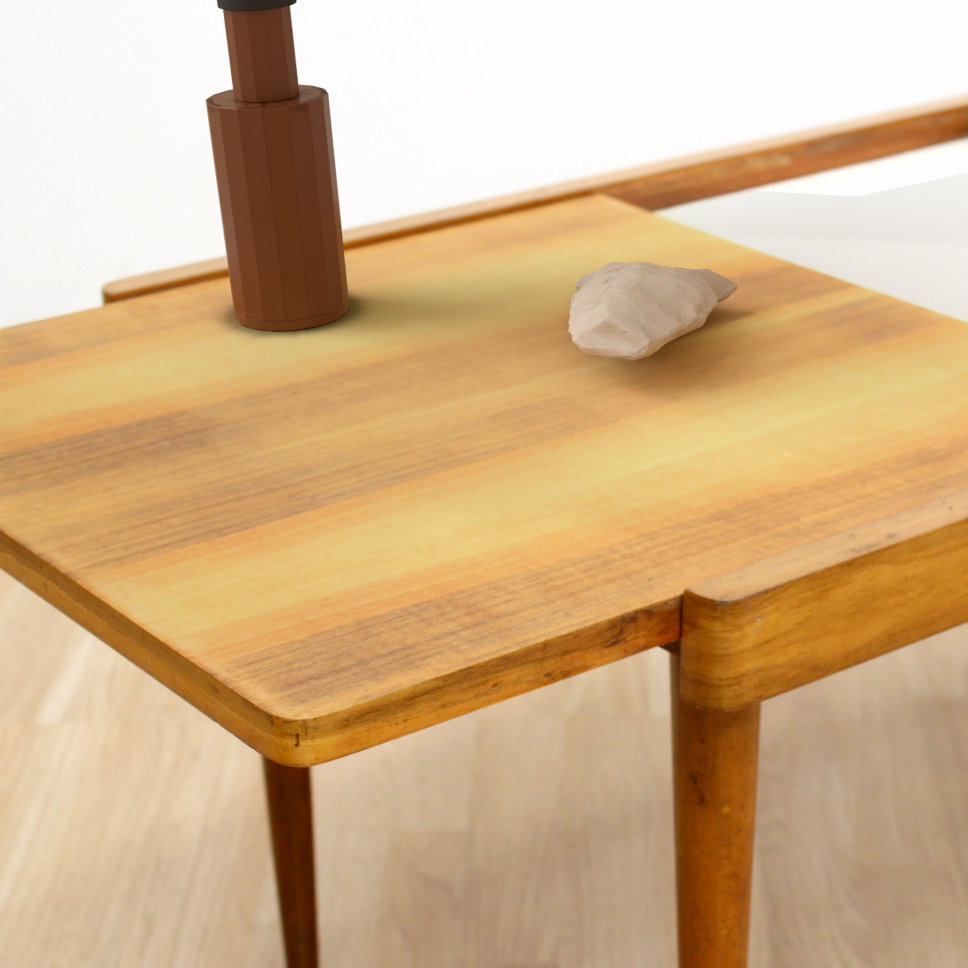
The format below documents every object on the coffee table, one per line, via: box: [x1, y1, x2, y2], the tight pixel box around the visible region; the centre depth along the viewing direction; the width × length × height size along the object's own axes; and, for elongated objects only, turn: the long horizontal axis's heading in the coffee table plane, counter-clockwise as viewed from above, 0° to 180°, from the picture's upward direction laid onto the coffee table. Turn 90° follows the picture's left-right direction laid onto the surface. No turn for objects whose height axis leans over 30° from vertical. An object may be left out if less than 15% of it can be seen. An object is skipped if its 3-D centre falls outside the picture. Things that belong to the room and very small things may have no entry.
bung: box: [216, 0, 298, 11], centre depth 87 cm, size 4×4×4 cm
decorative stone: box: [567, 261, 738, 362], centre depth 86 cm, size 10×4×15 cm
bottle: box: [205, 6, 350, 332], centre depth 91 cm, size 7×7×18 cm
